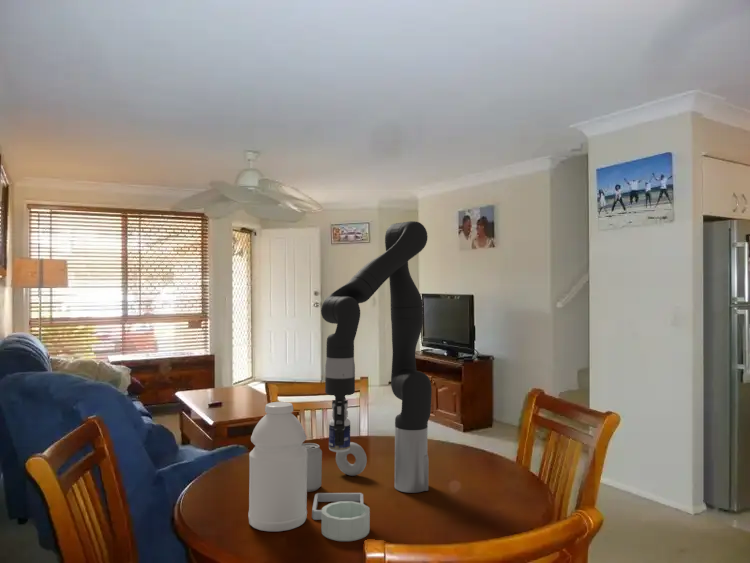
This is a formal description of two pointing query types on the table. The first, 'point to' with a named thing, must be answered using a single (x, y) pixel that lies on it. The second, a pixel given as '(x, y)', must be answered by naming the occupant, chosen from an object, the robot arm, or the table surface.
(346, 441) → the pill bottle
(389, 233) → the robot arm
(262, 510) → the bottle
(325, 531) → the bowl
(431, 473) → the table surface
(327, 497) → the tray
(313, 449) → the can
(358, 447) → the donut
